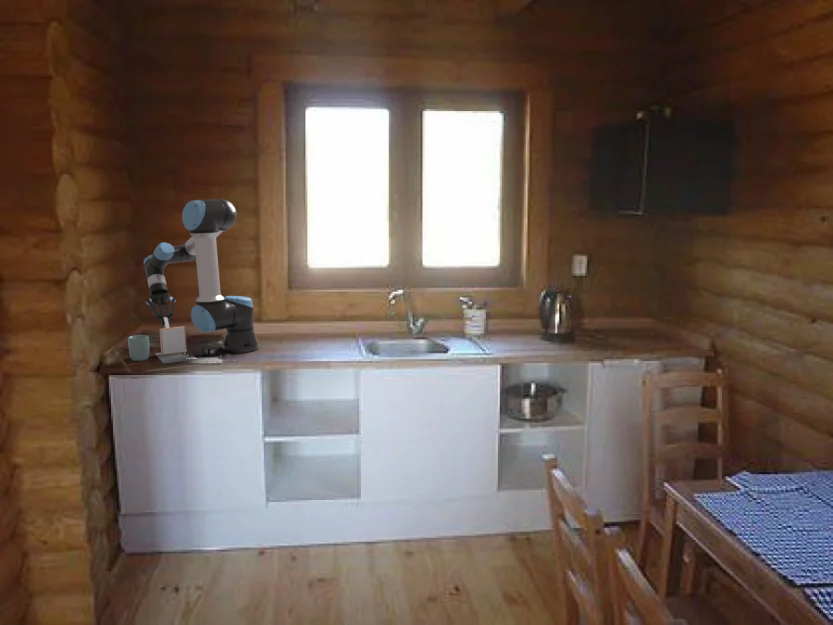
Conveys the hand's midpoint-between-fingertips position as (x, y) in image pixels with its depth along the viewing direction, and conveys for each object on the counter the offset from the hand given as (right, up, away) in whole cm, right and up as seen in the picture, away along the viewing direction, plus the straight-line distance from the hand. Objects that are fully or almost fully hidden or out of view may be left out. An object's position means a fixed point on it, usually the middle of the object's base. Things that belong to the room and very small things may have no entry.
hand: (167, 331), depth 320 cm
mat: (+7, -11, -11) cm, 17 cm away
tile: (+5, -9, -6) cm, 12 cm away
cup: (-6, -12, -15) cm, 20 cm away
